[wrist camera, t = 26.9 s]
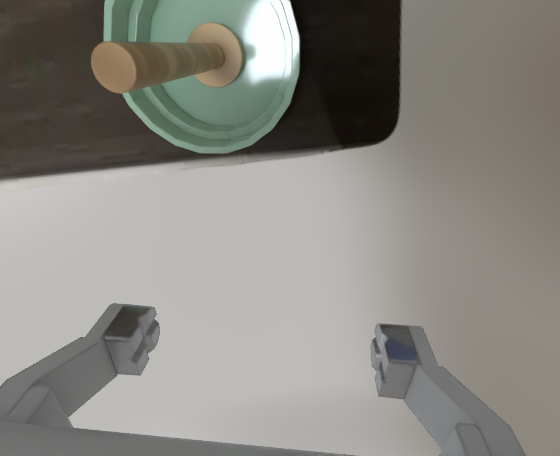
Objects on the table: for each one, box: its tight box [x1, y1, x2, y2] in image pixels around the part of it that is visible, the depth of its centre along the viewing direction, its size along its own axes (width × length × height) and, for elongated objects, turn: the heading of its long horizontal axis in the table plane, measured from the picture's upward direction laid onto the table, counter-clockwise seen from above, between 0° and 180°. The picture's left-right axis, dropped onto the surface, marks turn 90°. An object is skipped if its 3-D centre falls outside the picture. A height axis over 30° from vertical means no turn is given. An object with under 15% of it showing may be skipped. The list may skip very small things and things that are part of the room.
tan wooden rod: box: [91, 23, 245, 93], centre depth 21 cm, size 5×5×18 cm
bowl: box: [104, 0, 301, 153], centre depth 27 cm, size 15×15×6 cm
